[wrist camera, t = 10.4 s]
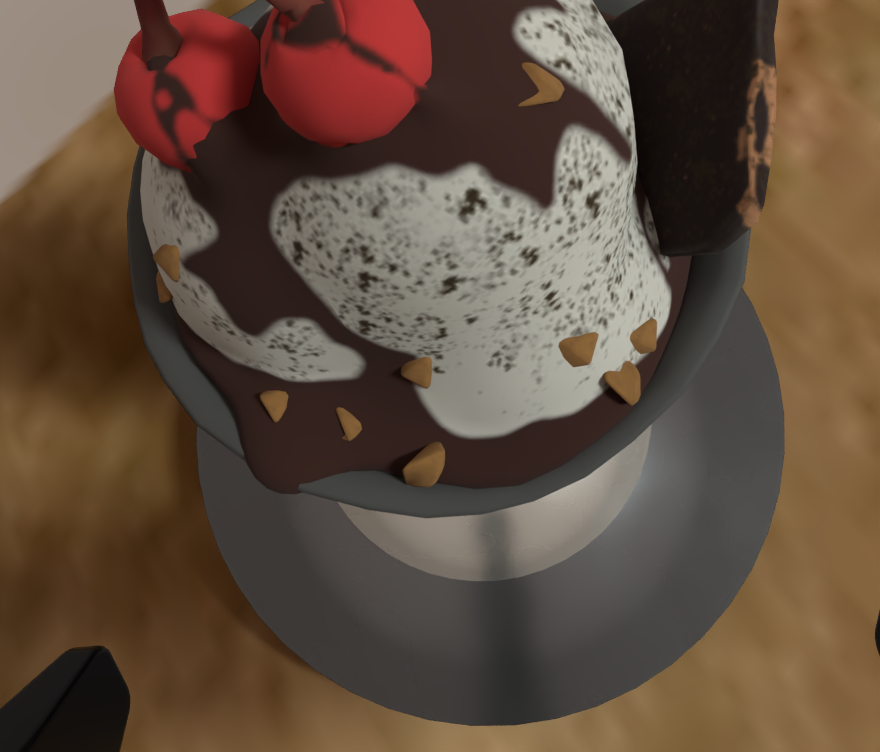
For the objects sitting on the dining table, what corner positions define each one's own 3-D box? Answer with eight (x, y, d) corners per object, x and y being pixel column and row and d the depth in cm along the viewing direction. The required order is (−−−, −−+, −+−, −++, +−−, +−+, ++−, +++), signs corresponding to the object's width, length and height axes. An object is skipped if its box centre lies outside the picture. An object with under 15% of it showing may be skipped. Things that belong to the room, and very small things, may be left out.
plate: (889, 533, 17) (970, 525, 14) (357, 831, 17) (322, 890, 14) (579, 90, 21) (591, 7, 18) (138, 320, 20) (72, 276, 17)
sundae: (281, 458, 18) (-792, -78, 3) (427, 231, 19) (141, -921, 4) (523, 609, 16) (621, 920, 2) (665, 354, 17) (1436, -746, 3)
